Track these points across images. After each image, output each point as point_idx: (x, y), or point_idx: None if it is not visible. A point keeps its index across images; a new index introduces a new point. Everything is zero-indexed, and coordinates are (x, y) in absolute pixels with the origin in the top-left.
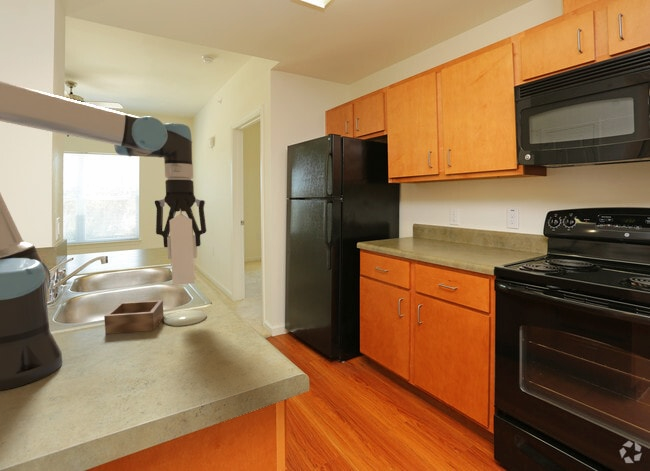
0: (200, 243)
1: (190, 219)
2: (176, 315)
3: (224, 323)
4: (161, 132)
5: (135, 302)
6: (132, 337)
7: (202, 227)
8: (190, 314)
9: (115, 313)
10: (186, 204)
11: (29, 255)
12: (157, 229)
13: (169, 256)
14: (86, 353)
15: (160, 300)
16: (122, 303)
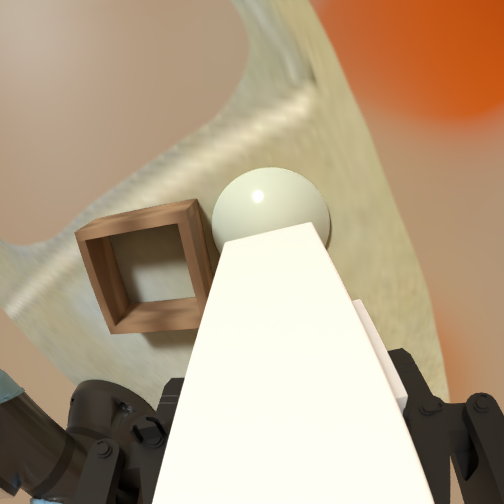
0: (411, 357)
1: None
2: (240, 215)
3: (381, 268)
4: None
5: (113, 231)
6: (192, 333)
7: (467, 471)
8: (281, 209)
9: (106, 289)
10: None
11: (11, 483)
12: (123, 500)
13: None
14: (155, 381)
15: (179, 212)
16: (84, 239)
